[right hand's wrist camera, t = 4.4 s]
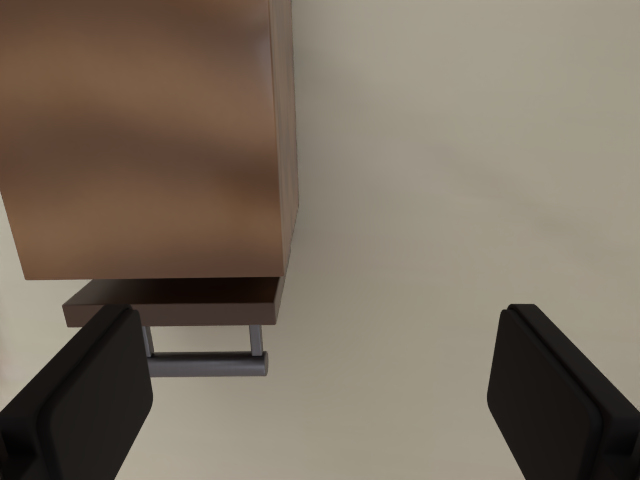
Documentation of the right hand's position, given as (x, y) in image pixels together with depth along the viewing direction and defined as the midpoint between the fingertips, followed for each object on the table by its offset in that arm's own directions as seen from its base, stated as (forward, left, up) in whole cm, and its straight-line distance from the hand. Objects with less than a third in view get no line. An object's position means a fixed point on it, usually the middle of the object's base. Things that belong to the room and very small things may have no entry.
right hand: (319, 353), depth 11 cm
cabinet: (+9, +7, -18) cm, 21 cm away
